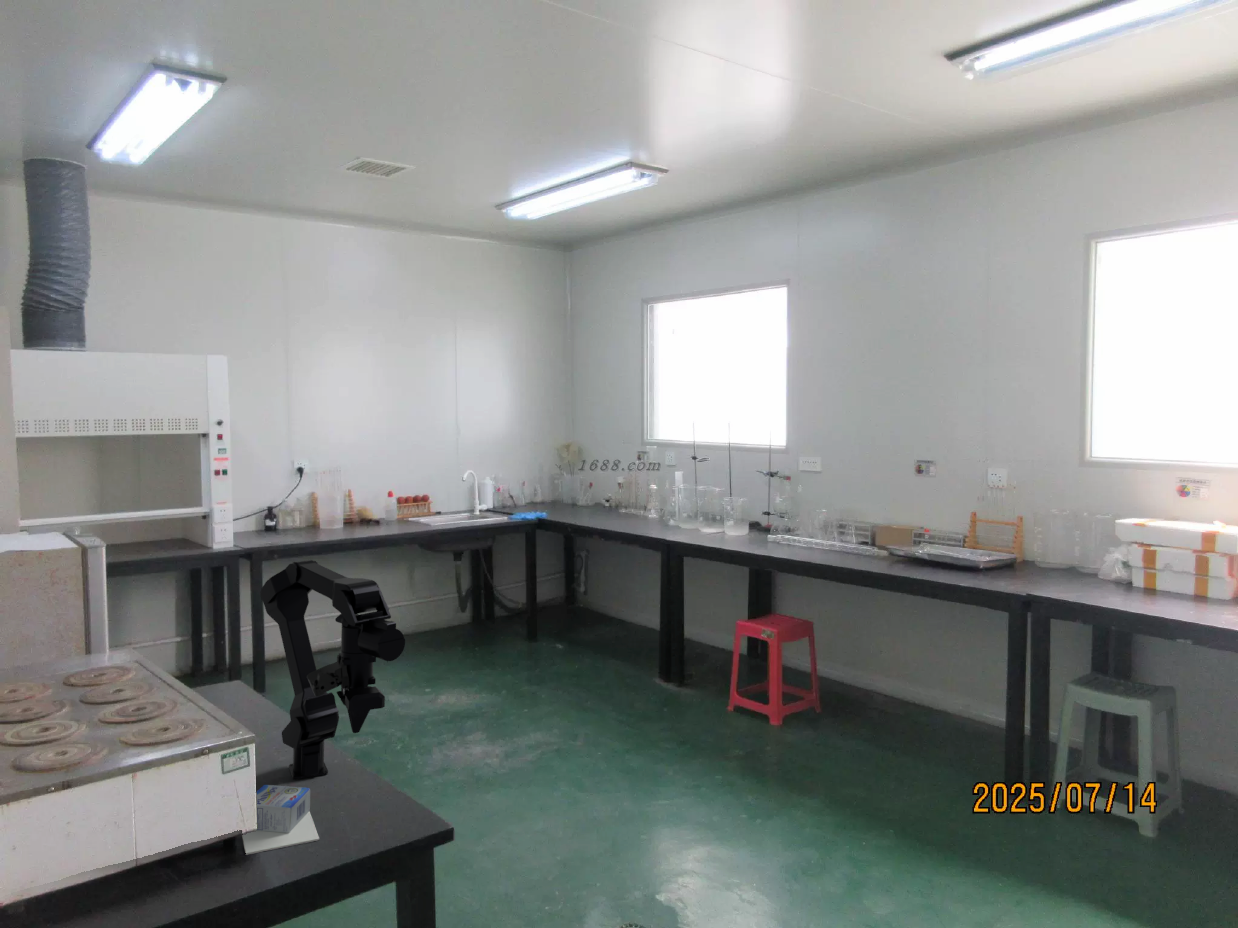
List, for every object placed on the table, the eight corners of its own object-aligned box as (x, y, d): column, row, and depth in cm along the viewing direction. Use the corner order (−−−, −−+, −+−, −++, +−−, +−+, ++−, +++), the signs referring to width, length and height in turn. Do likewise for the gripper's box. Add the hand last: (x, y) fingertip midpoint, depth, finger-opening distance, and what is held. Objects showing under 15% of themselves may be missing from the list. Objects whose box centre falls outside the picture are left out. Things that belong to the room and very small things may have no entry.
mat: (239, 821, 143) (239, 819, 143) (308, 808, 149) (308, 806, 149) (245, 854, 133) (245, 852, 133) (319, 839, 138) (319, 838, 138)
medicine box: (290, 808, 139) (240, 804, 140) (290, 833, 139) (239, 829, 140) (311, 787, 147) (263, 783, 147) (310, 811, 147) (262, 807, 148)
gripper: (303, 640, 157) (301, 721, 158) (320, 668, 141) (318, 758, 142) (363, 634, 162) (361, 713, 163) (386, 661, 146) (384, 748, 147)
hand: (355, 732), depth 154 cm, fingers closed
